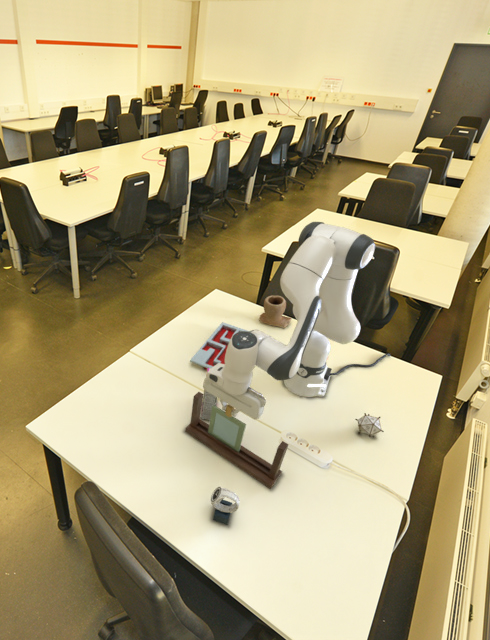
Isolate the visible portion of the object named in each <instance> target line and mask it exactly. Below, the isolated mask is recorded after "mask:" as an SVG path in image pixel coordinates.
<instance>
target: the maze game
mask: <svg viewBox="0 0 490 640" xmlns="http://www.w3.org/2000/svg"><path fill="white" fill-rule="evenodd" d="M240 331H248V332H249V331H250V330H247V329H244V328H241V327H238V326H235V325H232V324H230V323H226V322H223V321H222V322H221V323H220V324H219V326H217V328H216V329H215V330H214V331H213V332H212V334H210V336H209V337H208V338H207V339H206V341H205V342H204V343H203V344H202V346H201V347H200V348H199V349H198V350H197V351H196V352H195V354H194V355H193V356H192V357H191V358H190V360H189V362H190V363H192V364H195V365H197V366H200V367H203V369H204V370H205V371H207V368H212V367H213V366H215V365H216V364H218V363H221V364H225V355H226V350H227V347H228V344H229V342H230V339H231V338H232V336H233V335H234V334H235V333H237V332H240Z"/></svg>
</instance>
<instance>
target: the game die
mask: <svg viewBox="0 0 490 640" xmlns="http://www.w3.org/2000/svg"><path fill="white" fill-rule="evenodd" d="M363 414H364V415H363V416H361V417H360V418H358V419H357V418H355V421H357V426H358V429H359V430H358V431H359V432H357V434H358V435H359V434H364V435H367V436H368V437H369V438H371V437H372V438H375V435H377V434H379V433H380V432H381V433H384V430H383V429H382V426H381V422H380V419H381V417H382V416H378V417H376V416H373V415H370V414H369V413H366V412H364V413H363Z"/></svg>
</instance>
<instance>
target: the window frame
mask: <svg viewBox="0 0 490 640" xmlns="http://www.w3.org/2000/svg"><path fill="white" fill-rule="evenodd" d="M203 395H204V393H203V392H200V391H198V392H196V393H195V394H194V395H193V399H192V407H191V415H190V423H189V424H188V425H187V426H186V427H185V430H184V432H185V433H186V434H188V435H189V436H191V437H193V438H194V439H195V440H196V441H199V442H200V443H201V444H203V445H204V446H205V447H207V448H208V449H210V450H212V451H214V452H215V453H216V454H218V455H219V456H221V457H222V458H224V459H225V460H227V461H228V462H229V463H231V464H233V465H234V466H236V467H237V468H239V470H241V471H243V472H245V473H246V474H247V475H248V476H251V477H252V478H254V480H257V481H258V482H260V483H261V484H263V486H265V487H266V488H268V489H270V490H271V489H272V488H273V487H274V485H275V484H276V483H277V481H278V479H279V478H280V477H281V475H282V472H283V470H281V467H282V464H283V462H284V459H285V455H286V453H287V451H288V448H289V443H287V442H286V441H283V440H282V441H281V442H280V443H279V444H278V445H277V448H276V451H275V455H274V458H273V461H272V464H271V463H270V462H268V461H267V460H265V459H264V458H263V457H260V456H259V455H257V454H256V453H254V452H252V451H251V450H250V449H248V448H246V447H245V446H243V445H242V444H241V447H240V451H239V453H238V452H236V451H235V450H233V449H232V448H230V447H229V446H227V445H226V444H224V443H223V442H221V441H219V440H218V439H216V438H215V437H213V436H212V435H210V434H209V433H208V429H209V423H207V422H206V421H205V420H203V419H201V413H202V403H203Z"/></svg>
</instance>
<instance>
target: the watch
mask: <svg viewBox="0 0 490 640" xmlns="http://www.w3.org/2000/svg"><path fill="white" fill-rule="evenodd" d="M225 498H226V499H230V500H231V501H233V502H234V503H233V502H231V501H228V500H226V499H225ZM210 504H211V505H212V507H213V508H214V513H213V517H212V521H215V522H217V523H220V524H222V525H225V526H228V525H229V520H230V517H231V514H232V513H235V512H237V511H238V509H239V508H240V498H239V496H238V495H237V494H236V493H235V492H234V491H232V490H230V489H227V488H226V487H221V486H218V487H216V488H215V489H214V490H213V492H212V493H211V496H210Z"/></svg>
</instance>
